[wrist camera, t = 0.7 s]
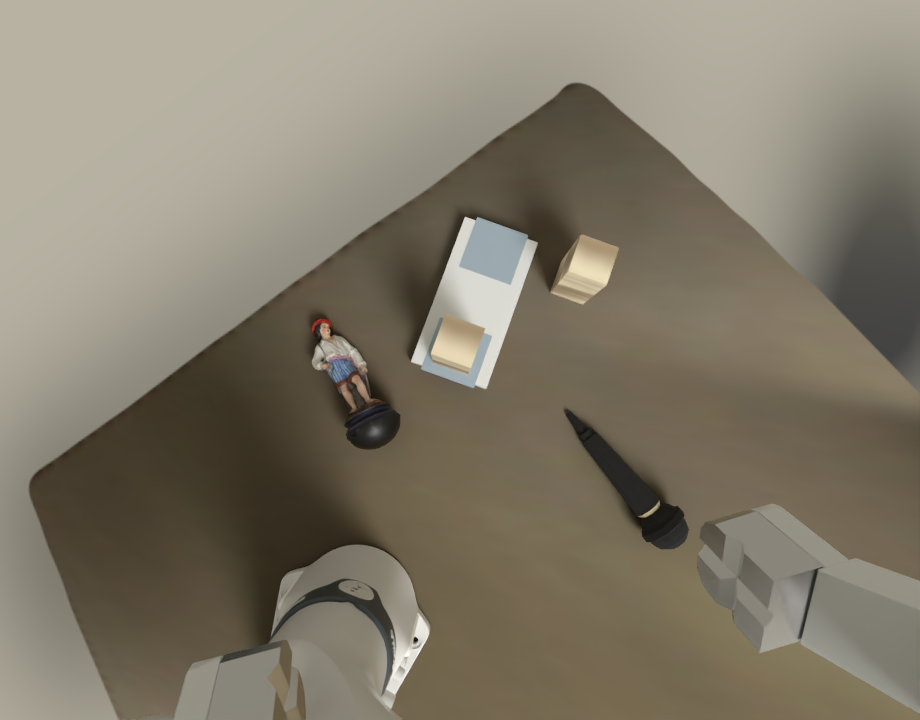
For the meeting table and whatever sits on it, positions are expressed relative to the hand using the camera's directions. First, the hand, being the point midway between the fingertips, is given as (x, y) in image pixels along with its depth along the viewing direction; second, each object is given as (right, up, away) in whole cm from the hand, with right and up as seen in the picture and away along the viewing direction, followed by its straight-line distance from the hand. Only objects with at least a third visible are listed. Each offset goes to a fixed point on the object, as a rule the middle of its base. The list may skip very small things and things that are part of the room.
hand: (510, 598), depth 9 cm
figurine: (-14, +2, +54) cm, 56 cm away
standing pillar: (-1, +5, +53) cm, 53 cm away
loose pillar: (+14, +15, +56) cm, 59 cm away
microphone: (+20, -10, +54) cm, 58 cm away
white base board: (+1, +12, +55) cm, 57 cm away
